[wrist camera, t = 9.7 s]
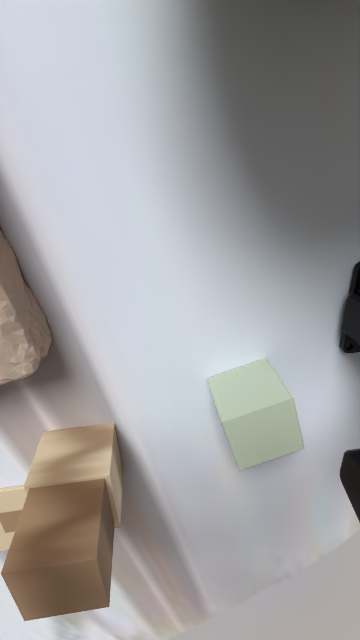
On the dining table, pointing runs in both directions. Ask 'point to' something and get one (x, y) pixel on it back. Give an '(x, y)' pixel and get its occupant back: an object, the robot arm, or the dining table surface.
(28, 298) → the brown rock
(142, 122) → the dining table surface
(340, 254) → the dining table surface
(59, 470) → the oak block
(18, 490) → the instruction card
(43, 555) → the walnut block
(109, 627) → the dining table surface
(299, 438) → the block
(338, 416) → the dining table surface
